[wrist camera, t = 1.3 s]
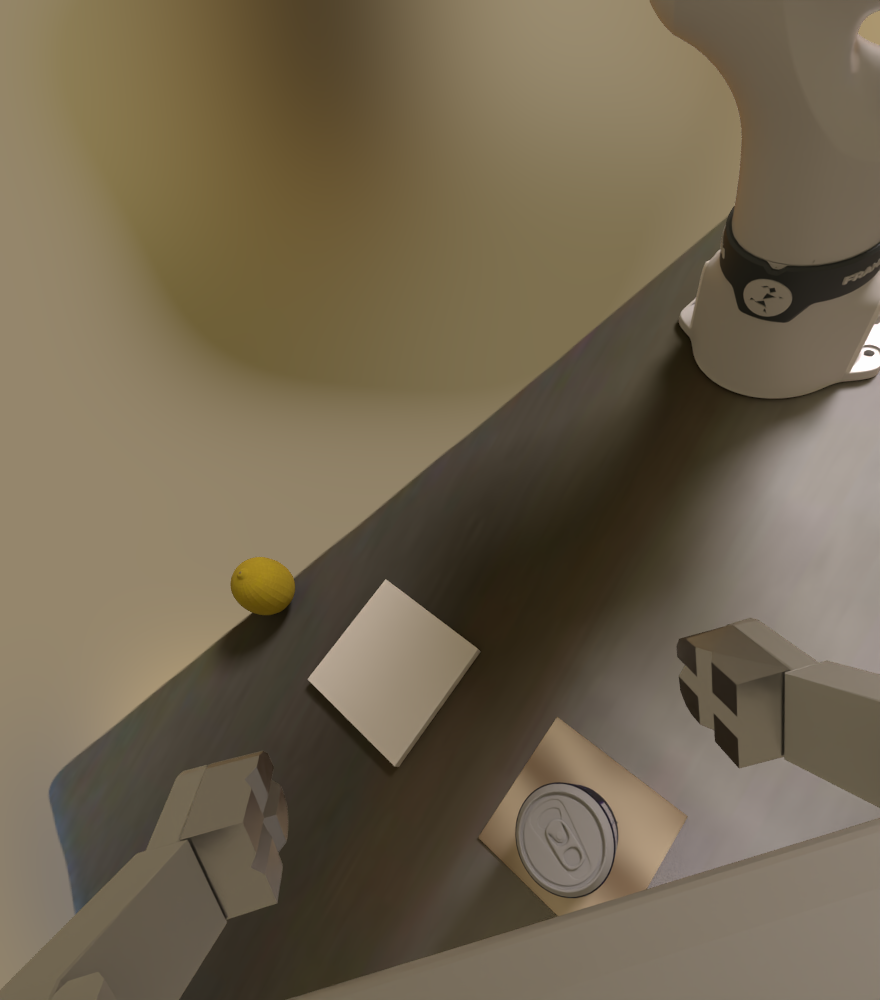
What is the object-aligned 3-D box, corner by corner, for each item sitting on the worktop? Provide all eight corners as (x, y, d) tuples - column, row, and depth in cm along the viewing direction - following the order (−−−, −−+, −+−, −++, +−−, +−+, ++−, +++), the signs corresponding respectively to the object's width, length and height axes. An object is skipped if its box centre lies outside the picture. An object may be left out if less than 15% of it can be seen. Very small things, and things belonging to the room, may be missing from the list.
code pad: (557, 717, 44) (557, 716, 44) (687, 816, 38) (687, 816, 38) (478, 837, 42) (478, 837, 41) (604, 961, 36) (604, 962, 36)
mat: (389, 582, 54) (385, 579, 54) (480, 651, 48) (478, 649, 47) (312, 681, 52) (307, 679, 51) (398, 767, 46) (394, 766, 45)
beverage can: (584, 768, 41) (570, 761, 31) (635, 843, 38) (637, 862, 28) (525, 812, 41) (492, 818, 31) (571, 891, 38) (551, 926, 28)
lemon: (300, 565, 59) (258, 535, 52) (314, 607, 56) (271, 582, 49) (257, 590, 59) (210, 564, 52) (269, 633, 56) (220, 611, 49)
